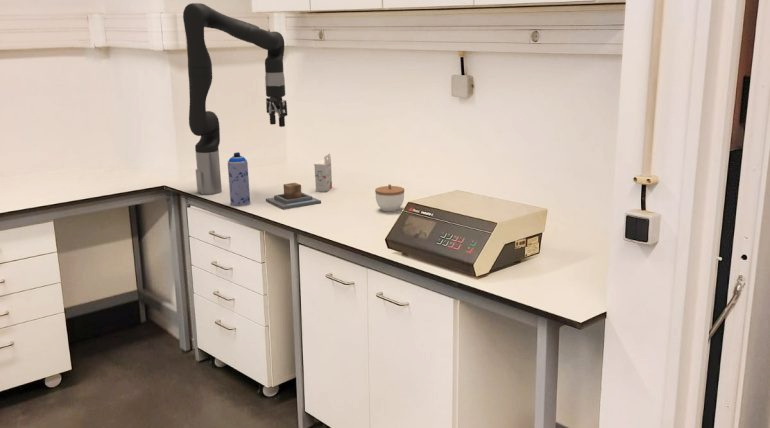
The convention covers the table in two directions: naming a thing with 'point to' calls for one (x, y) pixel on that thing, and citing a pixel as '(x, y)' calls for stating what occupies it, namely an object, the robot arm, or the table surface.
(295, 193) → the block
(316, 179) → the ink cartridge box
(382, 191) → the lidded jar
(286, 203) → the holder
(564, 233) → the table surface
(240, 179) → the aerosol can
